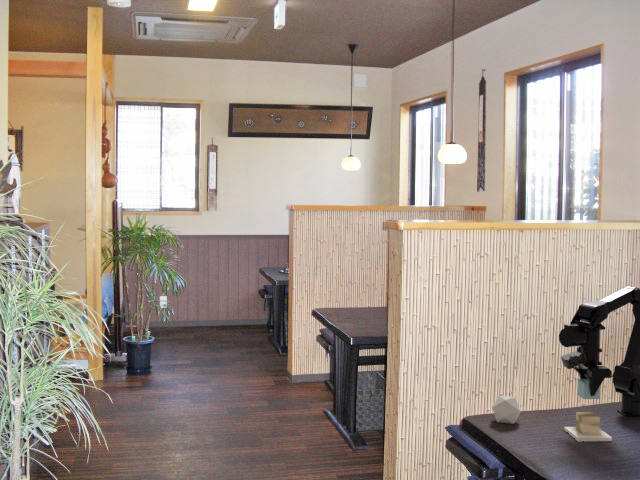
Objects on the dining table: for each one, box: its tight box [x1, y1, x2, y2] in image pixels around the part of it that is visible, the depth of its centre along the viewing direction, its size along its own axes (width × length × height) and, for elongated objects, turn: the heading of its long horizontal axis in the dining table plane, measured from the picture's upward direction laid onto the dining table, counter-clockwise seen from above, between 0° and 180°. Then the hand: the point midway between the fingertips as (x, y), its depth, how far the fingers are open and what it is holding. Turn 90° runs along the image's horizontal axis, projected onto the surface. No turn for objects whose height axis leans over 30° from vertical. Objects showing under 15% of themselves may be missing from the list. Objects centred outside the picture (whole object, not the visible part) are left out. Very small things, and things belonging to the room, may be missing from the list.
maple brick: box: [575, 411, 601, 434], centre depth 207 cm, size 5×5×5 cm
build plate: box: [563, 426, 613, 443], centre depth 207 cm, size 10×10×1 cm
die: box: [491, 395, 522, 424], centre depth 220 cm, size 8×9×10 cm
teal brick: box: [576, 378, 601, 400], centre depth 220 cm, size 5×5×5 cm
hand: (588, 393), depth 220 cm, fingers closed on teal brick, 5 cm apart
